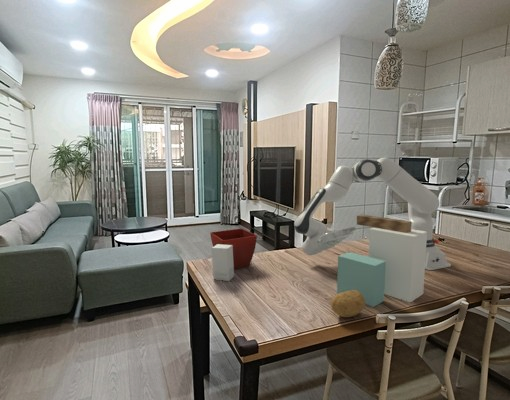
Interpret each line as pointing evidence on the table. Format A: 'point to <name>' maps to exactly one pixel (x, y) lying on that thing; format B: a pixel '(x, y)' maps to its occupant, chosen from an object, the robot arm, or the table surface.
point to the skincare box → (223, 262)
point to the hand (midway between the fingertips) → (349, 229)
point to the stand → (400, 260)
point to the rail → (384, 223)
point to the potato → (348, 303)
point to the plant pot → (237, 244)
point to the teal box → (362, 276)
